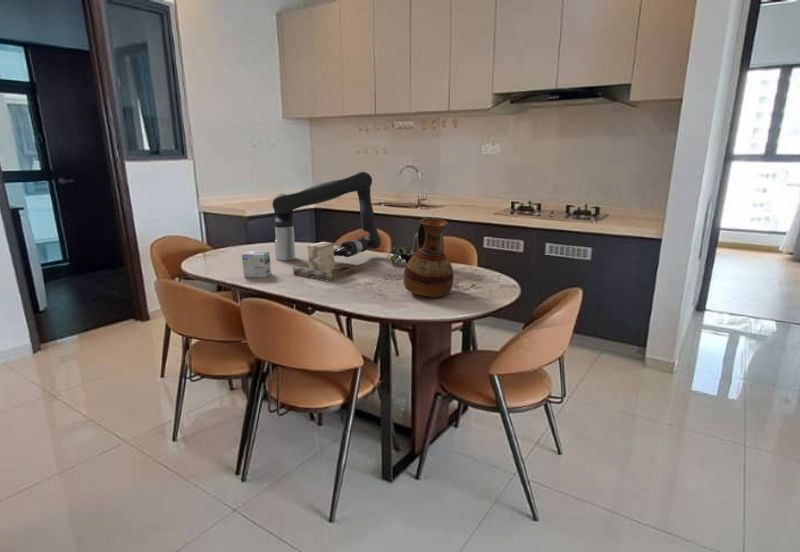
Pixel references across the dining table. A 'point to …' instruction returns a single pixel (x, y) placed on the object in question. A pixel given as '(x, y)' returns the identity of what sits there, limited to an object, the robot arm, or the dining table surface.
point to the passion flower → (402, 253)
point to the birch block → (321, 256)
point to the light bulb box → (256, 264)
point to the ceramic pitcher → (429, 262)
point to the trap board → (330, 275)
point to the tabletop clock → (415, 242)
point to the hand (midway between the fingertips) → (328, 254)
